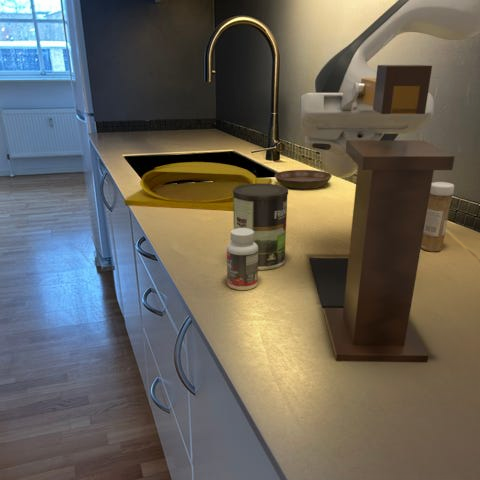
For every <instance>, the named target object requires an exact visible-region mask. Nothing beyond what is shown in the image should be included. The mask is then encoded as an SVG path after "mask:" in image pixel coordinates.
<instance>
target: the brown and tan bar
mask: <svg viewBox="0 0 480 480" xmlns="http://www.w3.org/2000/svg"><path fill="white" fill-rule="evenodd" d="M376 68H377V69H376V73H377V76H376V78H361V83H365V96H364V98H363V100H360V101H362V102H364V103H367V104H369V105H371V106H373V110H374V111H376V112H379V113H381V114H425V110H426V103H427V97H428V93H429V90H430V83H431V77H432V71H433V65H429V64H428V65H427V64H377V67H376Z"/></svg>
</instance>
